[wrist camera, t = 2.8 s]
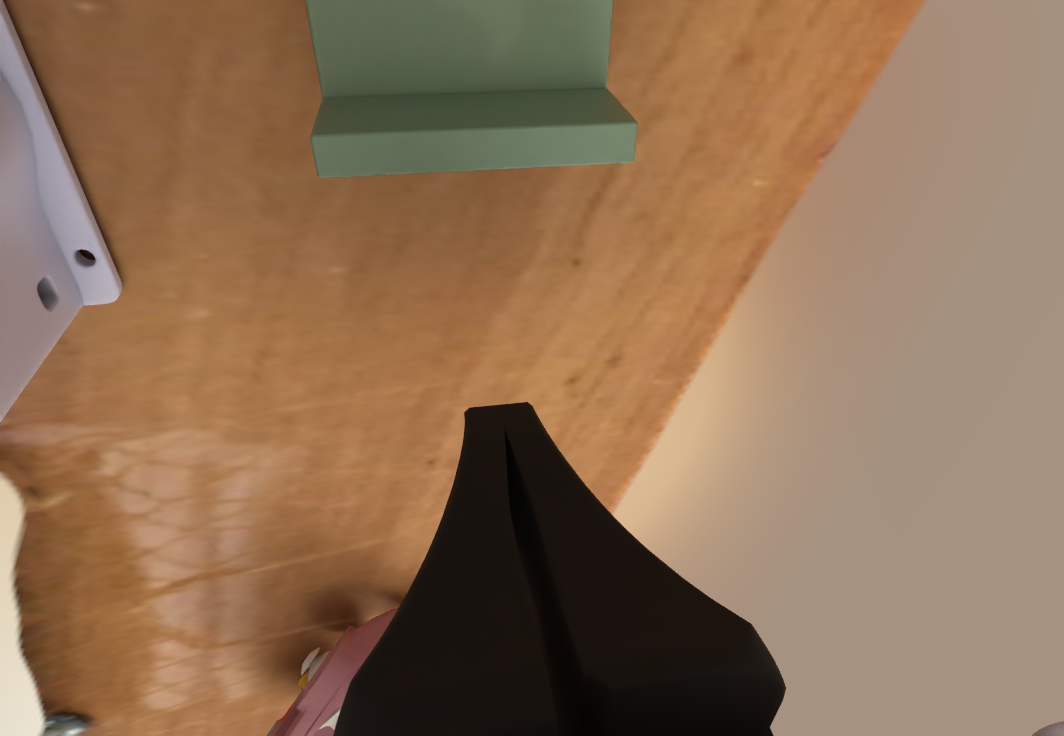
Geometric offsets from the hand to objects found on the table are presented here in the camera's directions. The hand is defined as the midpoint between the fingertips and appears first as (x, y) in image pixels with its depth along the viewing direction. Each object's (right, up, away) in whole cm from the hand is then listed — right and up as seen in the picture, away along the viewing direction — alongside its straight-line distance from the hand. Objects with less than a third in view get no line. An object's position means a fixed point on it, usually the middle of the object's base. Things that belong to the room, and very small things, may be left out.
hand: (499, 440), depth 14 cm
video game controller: (-8, -12, +19) cm, 24 cm away
